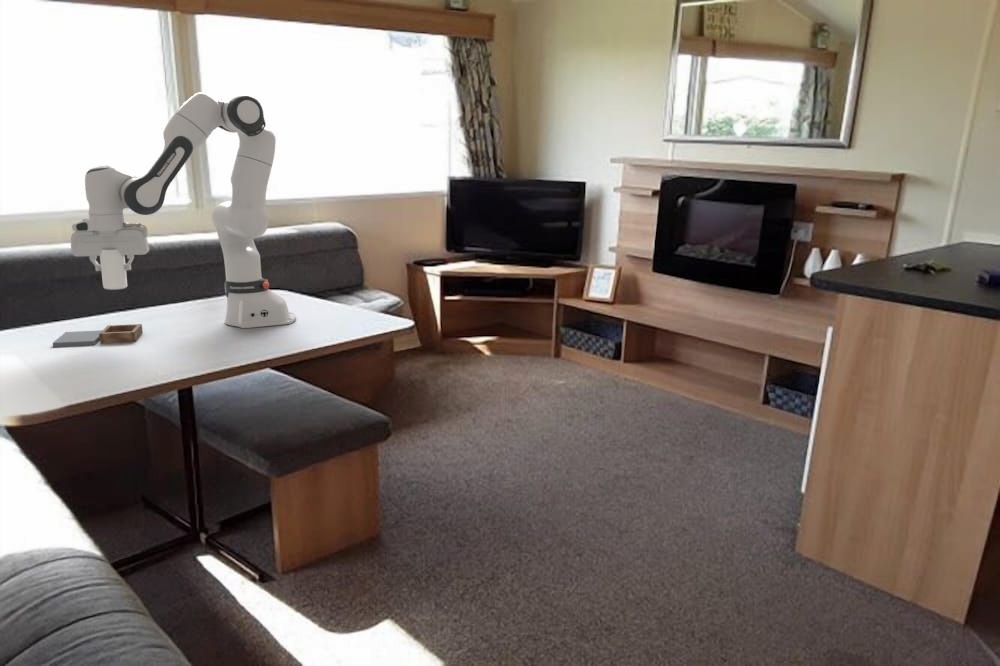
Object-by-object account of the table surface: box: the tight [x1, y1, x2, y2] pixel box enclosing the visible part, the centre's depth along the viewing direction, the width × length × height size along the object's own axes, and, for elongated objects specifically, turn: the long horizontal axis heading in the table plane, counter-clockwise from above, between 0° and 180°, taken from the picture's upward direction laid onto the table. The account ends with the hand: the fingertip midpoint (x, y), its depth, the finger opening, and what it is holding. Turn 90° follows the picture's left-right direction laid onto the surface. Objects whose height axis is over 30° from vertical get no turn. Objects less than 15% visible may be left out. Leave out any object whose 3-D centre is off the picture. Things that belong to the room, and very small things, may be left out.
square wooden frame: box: [99, 323, 144, 344], centre depth 222 cm, size 10×10×3 cm
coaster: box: [52, 329, 103, 348], centre depth 220 cm, size 11×12×1 cm
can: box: [99, 249, 128, 291], centre depth 217 cm, size 6×6×12 cm
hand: (113, 270), depth 217 cm, fingers closed on can, 6 cm apart
